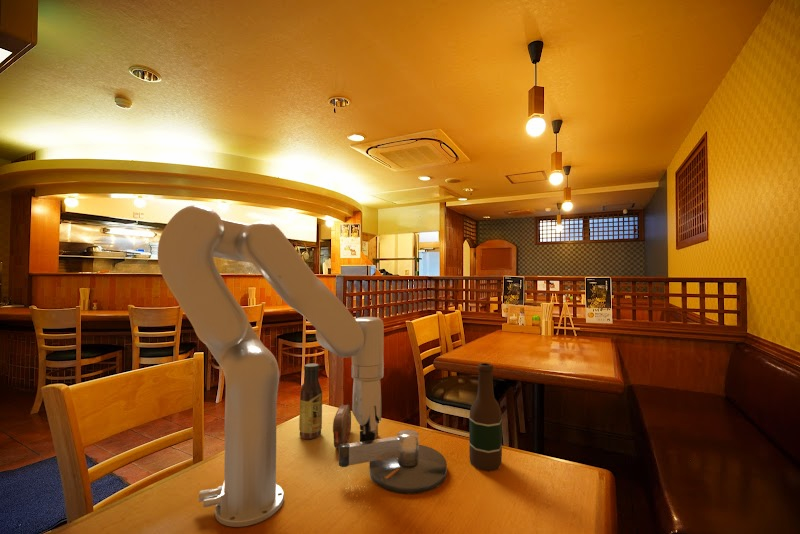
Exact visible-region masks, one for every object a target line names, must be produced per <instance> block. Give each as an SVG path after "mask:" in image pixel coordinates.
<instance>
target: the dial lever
mask: <svg viewBox="0 0 800 534" xmlns="http://www.w3.org/2000/svg"><path fill="white" fill-rule="evenodd" d="M419 442H420V433H419V432H418V431H415V430H413V429H402V430H400V431H398V432H397V436H396V435H395V436H389V437H382V438H375V440H369V441H362V442H360V441H355V442H351V443H348V442H347V443H343V444H340V445H339V448H338V466H339V467H340V468H347V467H349V466H353V465H360V464H365V463H370V462H371V461H377V460H383V459H389V458H395V457H397V461H398V463H399V464H401V465H404V466H413V465H415V464H417V463H418V462H419V445H420V443H419Z"/></svg>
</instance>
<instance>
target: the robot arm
mask: <svg viewBox="0 0 800 534" xmlns="http://www.w3.org/2000/svg"><path fill="white" fill-rule="evenodd" d="M214 258H217V259H218V258H219V259H223V260H229V261H236V262H245V263H251V264H252V265H253V266H254V267H255V268H256V270H257V271H258V272H259V274H261V275H262V277H263V278H264V279H265V281H267V283H268V284H269V285H270V287H271V288H272V289H273V291H274V292H275V293H276V294H277V295H278V296H279V297H280V299H281V300H283V302H284V303H285V304H286V305H287V306H289V307H290V308H292V310H295V311H296V312H297V313H299V314H300V315H301V316H303V317H304V318H305V319H306V320H307V321H308V322H309V323H310V324H311V325H312V327H314V329H315V339H316V341H317V343H318V344H319V345H320V346H321V347H322V349H325V350H327V351H329V352H330V353H333V354H334V355H336V356H338V357H341V358H351V378H352V379H353V383H352V384H353V385H352V401H351V404H352V405H351V413H352V414H353V416H354V418H355V420H356V421H357V423H358V424H359V430H360V431H359V442H362V441H369V440H375V439H376V438H375V431H376V423H375V421H376V422H377V423H378V424H379V423H381V421H382V389H381V388H382V387H381V379H383V378H384V371H385V370H384V369H385V367H384V365H385V363H384V361H385V360H384V359H385V358H384V354H385V353H384V352H385V351H384V350H385V348H384V347H385V344H384V340H385V339H384V338H385V334H384V333H385V328H384V327H385V326H384V320H383V319H381V318H379V317H377V316H376V317H375V316H360V317H355V316H353V315H352V313H351V312H350V310H349V309H348V308H347V307H346V305H345V304H344V303H343V302H342V300H340V299H339V298H338V296H336V295H335V294H334V293H333V292H332V290H330V289H329V287H327V286H326V284H325V283H324V282H323V281H322V280H321V279H320V278H319V277H318V276H317V275H316V274H315V273H314V272H313V270H312V269H311V267H309V265H308V264H307V263H306V262H305V260H304V258H303V257H302V256H301V255H300V253H298V250H297V249H296V248H295V247H294V246H293V244H292V243H291V242H290V241H289V239H288V238H287V236H286V235H285V234H284V233H283V231H282V230H281V229H280V228H279V227H278V226H277V225H276V224H274V223H272V222H271V221H270V222H269V221H267V220H260V221H256V222H253V223H250V224H249V223H243V222H238V221H234V220H228V219H224V218H221V216H220V215H219V214H218V213H217V212H216V211H215V210H214V209H211V208H210V207H206V206H204V205H199V204H198V205H197V204H196V205H195V204H194V205H193V204H192V205H189V206H185V207H184V208H181V209H180V210H179V211H177V212H176V213H175V214H174V215H173V216H172V217H171V218H170V219H169V221H168V222H167V223H166V225H165V226H164V228H163V230H162V233H161V235H160V237H159V240H158V245H157V262H158V267H159V270H160V274H161V276H162V279H163V280H164V282H165V284H166V286H167V287H168V289H169V290H170V293H172V295H173V296H174V298H175V300H176V302H177V303H178V305H179V307H180V309H181V310H182V311H183V313H184V315H185V316H186V318H187V319H188V321H189V322H190V324H191V326H192V328H193V330H194V332H195V334H196V337H197V338H198V339H199V341H200V342H202V343H203V344H204V345H205V347H206V348H207V349H208V350H209V352H210V353H211V355H212V356H213V358H214V360H215V361H216V362H217V363H218V365H219V367H220V369H221V370H222V371H223V375H224V379H225V381H224V382H225V397H224V398H225V400H224V401H225V402H224V467H223V468H224V473H223V474H224V481H223V484H222V485H218V486H217V488H209V489H202V490H199V492H198V503H202V502H203V503H202V504H203V505H202V507H203V508H207V507H212V506H215V507H214V516H215V519H216V521H218V523H220V524H222V525H223V526H227V527H234V528H239V527H242V528H243V527H248V526H253V525H256V524H259V523H261V522H263V521H265V520H267V519H269V518H271V516H272V517H273V515H274V514H276V512H278V511H279V510H280V508H281V507H282V506H283V503H284V499H285V492H284V490H283V488H282V487H281V486H280V485H278V484H277V407H278V406H277V402H278V391H279V384H280V383H279V382H280V369H279V364H278V361H277V359H276V356H275V355H274V354H273V353H272V351H270V349H269V348H267V347H266V346H265V345H264V344H263V341H261V339H260V338H259V336H258V334H257V333H256V331H255V330H254V327H252V325H251V322H250V321H249V320H248V319H249V318H248V315H247V313H246V311H245V309H244V308H243V307H242V306H241V304H240V303H239V302H238V301H237V299H236V298H235V296H234V295H233V294H232V292H231V291H230V289H229V287H228V286H227V284H226V283H225V281H224V278H223V276H222V274H220V271H219V270H218V268H217V266H216V264H215V260H214Z"/></svg>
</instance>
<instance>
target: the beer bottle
mask: <svg viewBox="0 0 800 534" xmlns="http://www.w3.org/2000/svg"><path fill="white" fill-rule="evenodd" d="M477 370H478V379H477V380H478V383H477V392H476V393H477V394H476V398H475V399H474V400H473V402H472V403H471V407H470V409H469V418H468V419H469V425H468V427H469V433H468V434H469V437H468V439H469V441H468V442H469V445H468V446H469V448H468V449H469V451H468V452H469V454H468V455H469V462H470V464H471V465H472V466H473V467H474V468H475V469H476V470H481V471H483V472H493V471H498V470H499V469H500V468H501V465H502V461H503V460H502V459H503V458H502V457H503V425H502V424H503V423H502V422H503V421H502V419H503V415H502V414H503V413H502V409H501V405H500V403H499V402H498V401H497V399H496V398H495V394H494V381H493V377H494V376H493V370H494V366H493V364H490V363H487V362H486V363H485V362H481V363H479V364H478V366H477Z"/></svg>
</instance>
